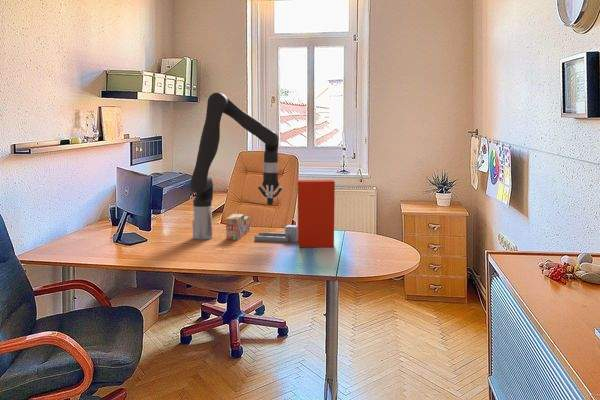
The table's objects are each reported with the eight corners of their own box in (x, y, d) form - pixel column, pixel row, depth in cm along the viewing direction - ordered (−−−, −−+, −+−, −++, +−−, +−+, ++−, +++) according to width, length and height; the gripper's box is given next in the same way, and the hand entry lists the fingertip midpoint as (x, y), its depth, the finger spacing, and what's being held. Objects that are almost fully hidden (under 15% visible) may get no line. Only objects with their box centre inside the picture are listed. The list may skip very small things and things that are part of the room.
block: (285, 241, 242) (285, 227, 241) (287, 238, 248) (287, 224, 247) (296, 241, 242) (296, 227, 240) (297, 239, 247) (297, 225, 246)
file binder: (297, 243, 243) (297, 179, 237) (331, 243, 243) (332, 179, 238) (298, 247, 235) (298, 181, 229) (333, 247, 236) (334, 181, 230)
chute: (254, 243, 243) (254, 234, 243) (259, 238, 252) (259, 230, 252) (289, 244, 240) (289, 235, 240) (293, 240, 249) (293, 231, 249)
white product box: (238, 232, 267) (238, 210, 265) (249, 233, 266) (249, 210, 264) (226, 241, 246) (225, 218, 244) (238, 242, 245) (237, 218, 243)
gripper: (256, 171, 243) (255, 205, 245) (281, 172, 240) (281, 207, 243) (259, 170, 250) (259, 203, 253) (285, 171, 248) (284, 204, 250)
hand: (270, 205), depth 248 cm, fingers closed
